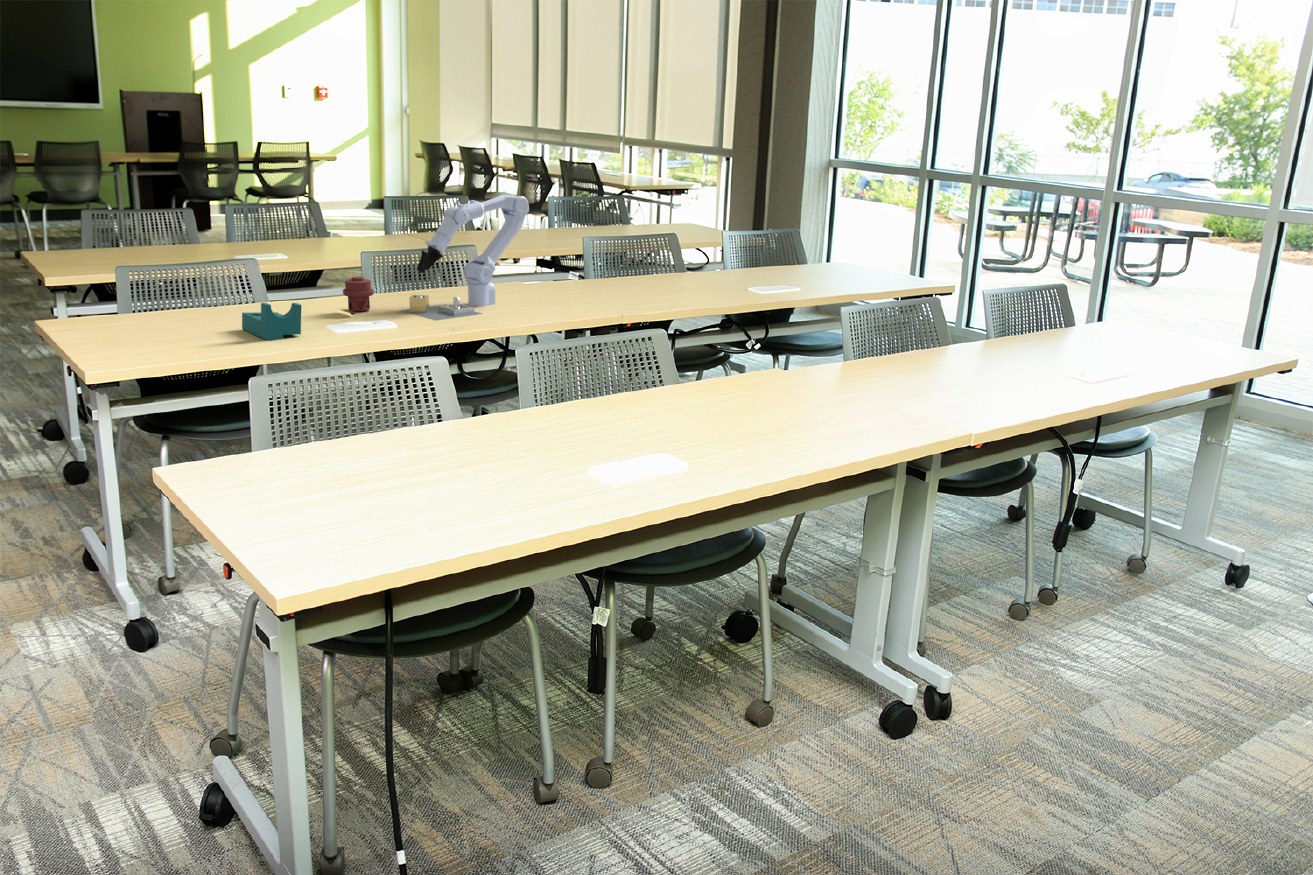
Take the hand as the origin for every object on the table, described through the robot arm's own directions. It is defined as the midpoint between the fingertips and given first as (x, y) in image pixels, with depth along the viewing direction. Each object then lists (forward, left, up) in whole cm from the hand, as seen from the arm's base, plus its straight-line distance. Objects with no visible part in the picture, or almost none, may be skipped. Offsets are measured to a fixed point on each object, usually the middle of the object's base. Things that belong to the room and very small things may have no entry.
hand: (421, 270), depth 344 cm
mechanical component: (+17, -13, -15) cm, 26 cm away
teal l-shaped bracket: (+55, -2, -16) cm, 57 cm away
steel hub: (-8, +8, -14) cm, 18 cm away
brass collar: (+1, -1, -14) cm, 14 cm away
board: (-4, +5, -15) cm, 16 cm away
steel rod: (+1, -1, -14) cm, 14 cm away
